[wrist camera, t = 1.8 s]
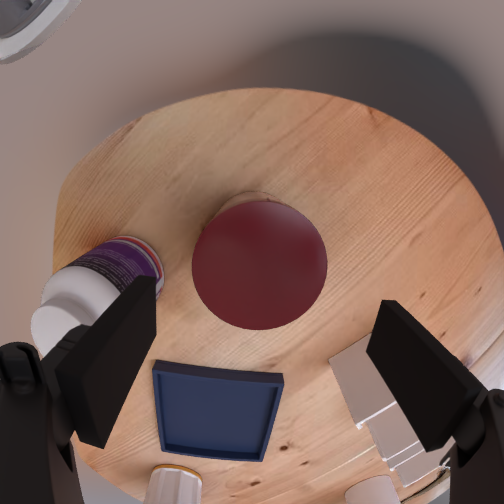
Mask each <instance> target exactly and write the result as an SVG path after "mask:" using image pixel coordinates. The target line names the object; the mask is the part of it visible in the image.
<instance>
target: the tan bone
mask: <svg viewBox="0 0 504 504" xmlns="http://www.w3.org/2000/svg"><path fill="white" fill-rule="evenodd" d="M449 476H450V470H449V469H448V468H446V469H445V473H444V474H443V476H442V477H441V478H439V479H438V480H436V481H435V482H434V483H432V484H431V485H429V486H428V487H427V488H425V489H423V490H422V491H420V492H419V493H417V494H416V495H414V496H412V497H410V498H408V499H407V500H405V501H402V502H401V504H404V503H405V502H407V501H409V500H411V499H413V498H415V497H417V496H420V495H422V494H424V493H425V492H427V491H429V490H430V489H432V488H433V487H435V486H437V485H438V484H439V483H441V482H442V481H444V480H445V479H446V478H448V477H449Z"/></svg>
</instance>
